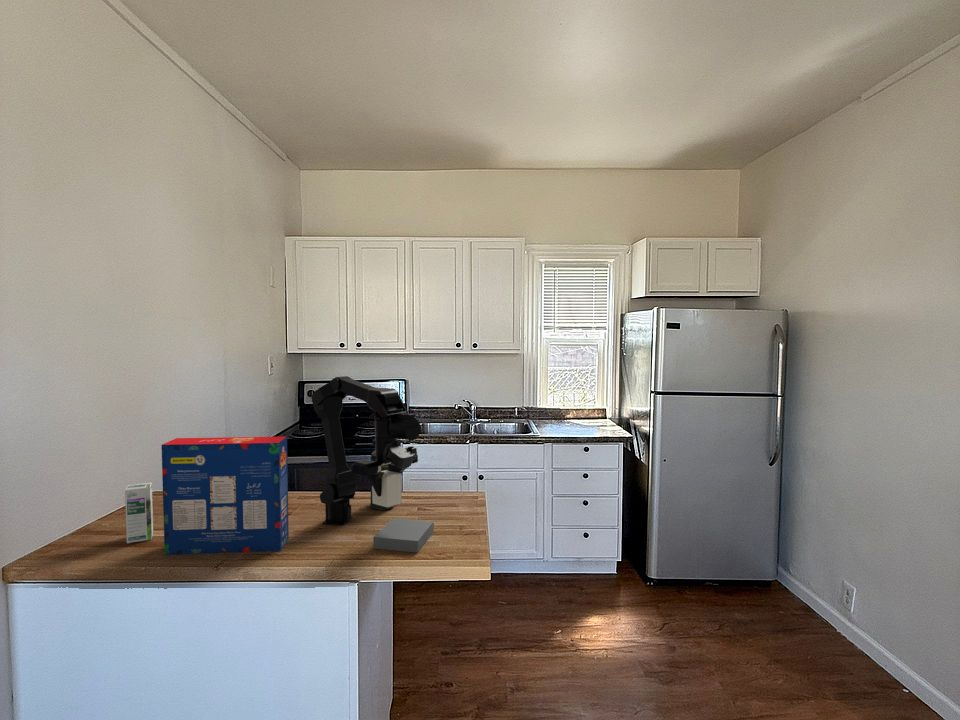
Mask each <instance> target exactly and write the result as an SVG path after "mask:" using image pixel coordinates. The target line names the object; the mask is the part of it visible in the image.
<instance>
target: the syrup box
mask: <svg viewBox="0 0 960 720" xmlns="http://www.w3.org/2000/svg"><path fill="white" fill-rule="evenodd" d="M152 484H153V483H152V482H151V481H150V482H145V483H144V482H143V483H135V484H134V483H133V484H127V486H126V488H125V490H124V500H125V501H124V506H125V522H126V523H125V524H126V525H125V527H126V529H125V530H126V544H131V543H137V542H138V543H139V542H145V541H152V539H153V535H154V520H153V519H154V516H153V515H154V513H153V488H152V487H153V485H152Z"/></svg>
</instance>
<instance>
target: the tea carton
mask: <svg viewBox="0 0 960 720" xmlns="http://www.w3.org/2000/svg"><path fill="white" fill-rule="evenodd" d="M381 472H385V473H384V475H383V476H382V492H381V496H377V494H376V492H375V490H374V488H373V486H372V503H373V504H377V505H380V506H384V507H387V508H388V507H391V506H393V507H394V506H396V505H400V504H402V475H401V473H397V472H392V471H388V470H384V471H381Z"/></svg>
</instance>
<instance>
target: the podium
mask: <svg viewBox="0 0 960 720" xmlns="http://www.w3.org/2000/svg"><path fill="white" fill-rule="evenodd" d="M434 525H435V523H434V521H432V520H421V519H418V520H417V519H408V518H407V519H406V518H392V519H390V520H389V521H388V522H387V524H386V525H384V526H383V527H382V528H381V529H380V530H379V531H378V532H377V533H376V534H375V535H374V536H373V549H374V548H375V550H377V549H378V550H385V549H387V551H398V552H408V553H416V554H417V553H420V550H421V549H422V548H423V547H424V546H425V544H426V543H427V541H428V540H429V539H430V537H431V536H432V535H433V534H434V533H435V531H434Z"/></svg>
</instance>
